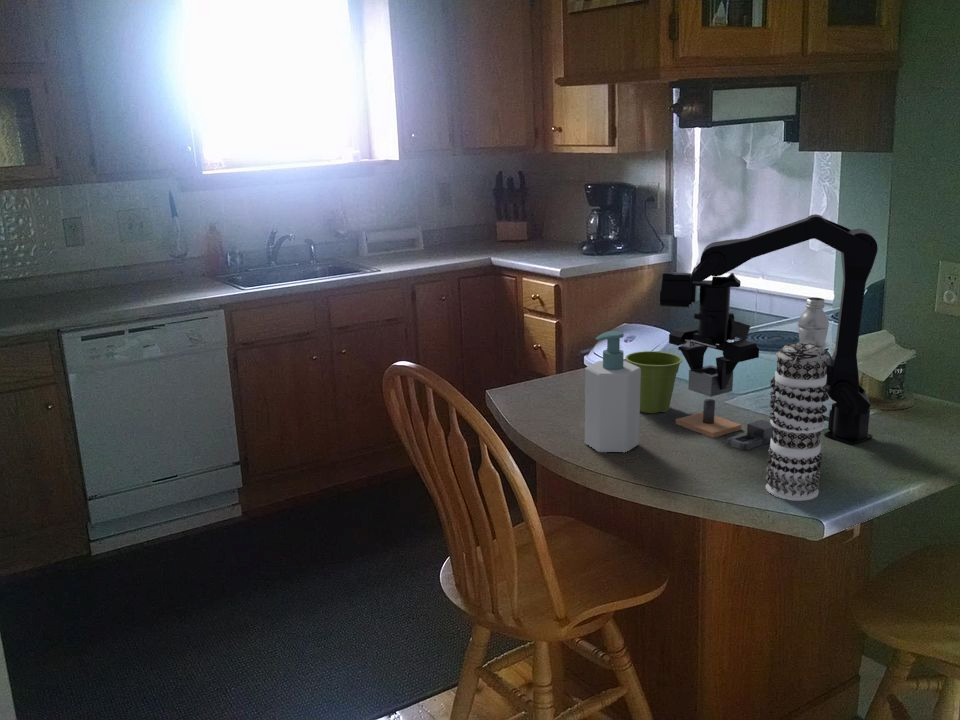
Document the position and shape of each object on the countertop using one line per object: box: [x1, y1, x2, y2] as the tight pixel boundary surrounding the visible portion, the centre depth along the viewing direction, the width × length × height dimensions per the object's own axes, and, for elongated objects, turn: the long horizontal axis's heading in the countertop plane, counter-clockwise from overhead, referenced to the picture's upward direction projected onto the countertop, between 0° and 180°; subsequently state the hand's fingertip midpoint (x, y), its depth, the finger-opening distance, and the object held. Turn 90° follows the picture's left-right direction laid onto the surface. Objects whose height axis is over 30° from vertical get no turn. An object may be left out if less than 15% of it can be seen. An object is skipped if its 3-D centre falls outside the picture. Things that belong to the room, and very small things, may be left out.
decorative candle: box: [765, 341, 830, 502], centre depth 150 cm, size 9×9×25 cm
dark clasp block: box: [726, 419, 773, 452], centre depth 174 cm, size 4×10×3 cm, turn 123°
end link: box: [687, 364, 734, 398], centre depth 181 cm, size 6×6×4 cm
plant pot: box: [625, 350, 683, 414], centre depth 194 cm, size 12×12×11 cm
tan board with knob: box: [675, 398, 742, 439], centre depth 183 cm, size 10×8×6 cm
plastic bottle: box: [797, 296, 830, 353], centre depth 206 cm, size 6×7×20 cm
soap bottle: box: [584, 330, 641, 454], centre depth 172 cm, size 10×9×22 cm
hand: (710, 385), depth 181 cm, fingers closed on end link, 6 cm apart
